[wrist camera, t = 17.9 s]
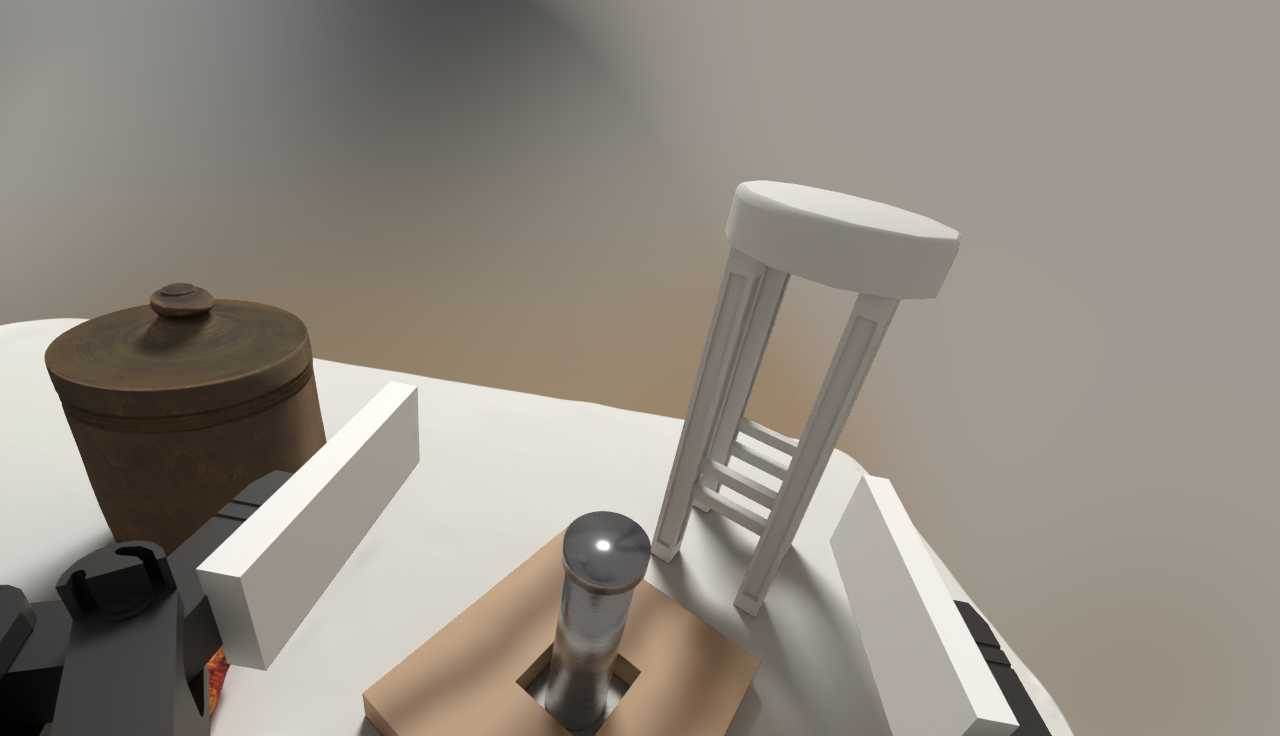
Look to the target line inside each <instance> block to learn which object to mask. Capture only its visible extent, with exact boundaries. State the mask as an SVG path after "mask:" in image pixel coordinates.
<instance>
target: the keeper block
mask: <svg viewBox="0 0 1280 736" xmlns="http://www.w3.org/2000/svg"><path fill="white" fill-rule="evenodd" d="M568 527H569V526H568ZM568 527H567V528H568ZM567 528H566V529H564V530H563V531H562V532H561V533H559V534H558V535H557V536H556V537H554V538H553V539H552V540H551V541H550V542H548V543H547V544H546V545H545V546H543V547H542V548H541V549H540V550H539V551H537V552H536V553H535V554H534V555H532V556H531V557H530V558H529V559H527V560H526V561H525V562H524V563H523V564H521V565H520V566H519V567H518V568H516V569H515V570H514V571H513V572H511V573H510V574H509V575H508V576H507V577H505V578H504V579H503V580H502V581H500V582H499V583H498V584H497V585H495V586H494V587H493V588H492V589H491V590H489V591H488V592H487V593H486V594H484V595H483V596H482V597H481V598H479V599H478V600H477V601H476V602H475V603H473V604H472V605H471V606H470V607H468V608H467V609H466V610H465V611H463V612H462V613H461V614H460V615H459V616H457V617H456V618H455V619H454V620H452V621H451V622H450V623H449V624H447V625H446V626H445V627H444V628H443V629H441V630H440V631H439V632H438V633H436V634H435V635H434V636H433V637H431V638H430V639H429V640H428V641H427V642H425V643H424V644H423V645H422V646H420V647H419V648H418V649H417V650H416V651H414V652H413V653H412V654H411V655H409V656H408V657H407V658H406V659H404V660H403V661H402V662H401V663H400V664H398V665H397V666H396V667H395V668H393V669H392V670H391V671H390V672H388V673H387V674H386V675H385V676H384V677H382V678H381V679H380V680H379V681H377V682H376V683H375V684H374V685H372V686H371V687H370V688H369V689H368V690H366V691H365V692H364V693H363V701H364V708H365V715H366V716H367V717H368V718H369V720H370V721H371V722H372V723H373V724H374V726H375V727H376V728H377V729H378V730H379V732H380V733H381V734H382V735H383V736H573V735H572V734H571V733H570V732H568V731H567V730H566V729H565V728H564V727H563V726H562V725H561V724H560V723H559V722H558V721H557V720H556V719H555V718H554V717H552V716H551V715H550V714H549V713H548V712H547V711H546V710H545V709H544V708H543V707H542V706H541V705H540V704H539V703H538V702H536V701H535V700H534V699H533V698H532V697H531V696H530V695H529V694H528V693H527V692H526V691H525V690H524V689H525V688H526V687H527V686H528V685H529V684H530V683H531V682H532V681H533V680H534V679H535V678H536V677H537V675H538V674H539V673H540V672H541V671H542V670H543V669H544V668H545V667H546V666H547V665H548V664H549V663H550V661H551V658H552V652H553V646H554V640H555V633H556V627H557V621H558V615H559V608H560V602H561V596H562V590H563V584H564V577H565V570H564V568H563V565H562V560H561V553H562V547H563V540H564V535H565V532H566V530H567ZM760 663H761V662H760V661H758V660H757V659H755V658H754V657H753V656H751V655H750V654H748V653H747V652H746V651H744V650H743V649H741V648H740V647H739V646H737V645H736V644H734V643H733V642H731V641H730V640H729V639H727V638H726V637H724V636H723V635H722V634H720V633H719V632H717V631H716V630H715V629H713V628H712V627H710V626H709V625H707V624H706V623H705V622H703V621H702V620H700V619H699V618H698V617H696V616H695V615H693V614H692V613H691V612H689V611H688V610H686V609H685V608H683V607H682V606H681V605H679V604H678V603H676V602H675V601H674V600H672V599H671V598H669V597H668V596H667V595H665V594H664V593H662V592H661V591H659V590H658V589H657V588H655V587H654V586H652V585H651V584H650V583H648V582H647V581H645V580H644V579H642V581H641V582H640V583H639V584H638V585H637V586H636V587H635V590H634V594H633V598H632V601H631V605H630V609H629V613H628V617H627V621H626V624H625V628H624V632H623V636H622V640H621V644H620V648H619V651H618V655H617V659H616V663H615V667H614V671H613V673H615V674H616V675H617V676H618V677H619V678H621V679H622V680H623V681H624V682H625V683H627V684H628V685H629V686H630V688H629V690H628V691H627V692H626V694H625V695H624V696H623V698H622V699H621V701H620V702H619V703H618V705H617V706H616V707H615V709H614V710H613V712H612V713H611V714H610V716H609V717H608V718H607V720H606V721H605V722H604V724H603V725H602V727H601V728H600V729H599V731H598V732H597V733H596V735H595V736H724V735H725V733H726V731H727V729H728V727H729V725H730V723H731V721H732V719H733V717H734V715H735V713H736V711H737V709H738V707H739V705H740V703H741V701H742V699H743V698H744V696H745V694H746V692H747V690H748V688H749V686H750V684H751V682H752V680H753V678H754V675H755V673H756V671H757V669H758V667H759V665H760Z"/></svg>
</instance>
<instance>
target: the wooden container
mask: <svg viewBox="0 0 1280 736" xmlns="http://www.w3.org/2000/svg"><path fill="white" fill-rule="evenodd" d="M45 363H46V367H47V370H48V373H49V375H50V378H51V381H52V383H53V385H54V388H55V390H56V392H57V393H58V395H59V398H60V400H61V402H62V407H63V410H64V413H65V416H66V418H67V421H68V423H69V426H70V429H71V431H72V434H73V437H74V439H75V442H76V444H77V447H78V449H79V452H80V455H81V457H82V460H83V463H84V466H85V469H86V472H87V475H88V477H89V480H90V483H91V485H92V488H93V490H94V493H95V496H96V498H97V501H98V503H99V506H100V508H101V510H102V513H103V515H104V517H105V519H106V521H107V524H108V526H109V528H110V529H111V532H112V534H113V536H114V539H115V541H116V543H122V542H129V541H136V540H138V541H149V542H154V543H155V544H157V545H159V546H161V547H163V550H164V553H165V555H166V558H167V557H168V556H169V555H170V554H171V553H173V552H174V551H175V550H176V549H177V548H178V547H179V546H180V545H182V544H183V543H184V542H185V541H186V540H187V539H188V538H189V537H191V536H192V535H193V534H194V533H195V532H196V531H197V530H198V529H200V528H201V527H202V526H203V525H204V524H205V523H206V522H208V521H209V520H210V519H211V518H212V517H216V515H217V513H218V512H219V511H220V510H221V509H222V508H223V507H224V506H226V505H227V504H228V503H231V502H232V499H233V498H235V497H236V496H237V495H238V494H239V493H240V492H241V491H242V490H244V489H245V488H246V487H247V486H248V485H249V484H250V483H252V482H254V481H256V480H258V479H260V478H262V477H264V476H265V475H267V474H269V473H271V472H273V471H275V470H278V471H284V472H289V473H294V474H295V473H296V472H297V471H298V470H299V469H300V468H301V467H302V466H303V465H304V464H305V463H306V462H307V461H309V460H310V459H311V458H312V457H313V456H314V455H315V454H316V453H317V452H318V451H319V450H320V449H321V448H322V447H323V446H324V445H325V444H326V438H325V432H324V427H323V422H322V417H321V411H320V406H319V400H318V394H317V388H316V382H315V376H314V371H313V359H312V351H311V345H310V339H309V335H308V331H307V328H306V326H305V324H304V323H303V321H302V320H300V319H299V318H298V317H297V316H295V315H294V314H292V313H290V312H288V311H286V310H283V309H280V308H278V307H274V306H270V305H266V304H261V303H255V302H248V301H238V300H225V299H224V300H223V299H221V300H220V299H214V298H213V296H212V295H211V294H210V293H209V292H207V291H206V290H204V289H202V288H198V287H195V286H193V285H192V284H187V283H186V284H185V283H176V284H170V285H168V286H166V287H163V288H162V289H160V290H158V291H156V292H155V293H153V294H152V295H151V297H150V304H148V305H142V306H137V307H133V308H128V309H124V310H120V311H116V312H113V313H110V314H106V315H103V316H100V317H96V318H94V319H91V320H88V321H86V322H84V323H81V324H79V325H77V326H75V327H74V328H71V329H70V330H68V331H66V332H64V333H63V334H61V335H60V336H59V337H57V338H56V339H55V340H54V341H53V342H52V343H51V344H50V345H49V347H48V348H47V350H46V352H45Z"/></svg>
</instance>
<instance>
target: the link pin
mask: <svg viewBox="0 0 1280 736" xmlns="http://www.w3.org/2000/svg"><path fill="white" fill-rule="evenodd" d="M650 555H651V545H650V541H649V538H648V536H647V534H646V533H645V531H644V530H643V529H642V527H641V526H640V525H638V524H637V523H636V522H635V521H633V520H632V519H630V518H628V517H626V516H624V515H621V514H618V513H614V512H606V511H599V512H592V513H588V514H585V515H583V516H581V517H579V518H577V519H576V520H574V521H573V522H572V523H571V524H570V526H569V527H568V528H567V530H566V532H565V535H564V540H563V547H562V553H561V560H562V565H563V568H564V570H565V577H564V584H563V590H562V596H561V602H560V608H559V615H558V621H557V627H556V633H555V640H554V646H553V652H552V658H551V664H550V671H549V677H548V683H547V689H546V696H545V702H546V708H547V711H548V713H549V714H550V715H551V716H552V717H554V718H555V719H556V720H557V721H558V722H559V723H560V724H561V725H562V726H563V727H564V728H566V729H570V730H579V729H584V728H586V727H588V726H590V725H592V724H593V723H594V722H595V721H596V720H597V719H598V718H599V717H600V715H601V713H602V711H603V709H604V705H605V701H606V698H607V694H608V690H609V686H610V682H611V678H612V674H613V671H614V667H615V663H616V659H617V655H618V651H619V648H620V644H621V640H622V636H623V632H624V628H625V624H626V621H627V617H628V613H629V609H630V605H631V601H632V598H633V594H634V590H635V587H636V586H637V585H638V584H639V583H640V582H641V581H642V579H643V578H644V576H645V573H646V571H647V567H648V563H649V559H650Z"/></svg>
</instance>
